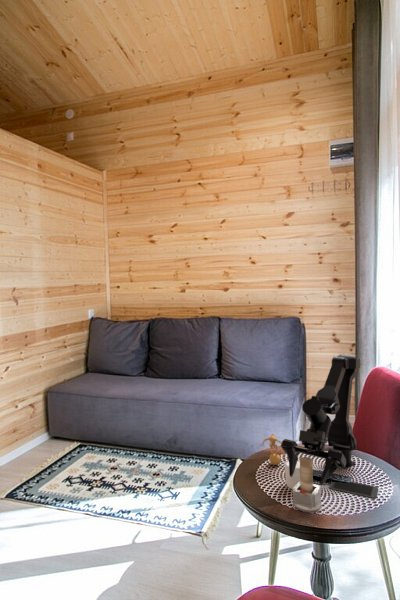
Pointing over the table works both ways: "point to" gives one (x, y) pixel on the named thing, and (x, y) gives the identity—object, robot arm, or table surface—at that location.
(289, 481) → the white short cylinder
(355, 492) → the cell phone
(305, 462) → the post
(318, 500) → the stand
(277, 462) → the figurine
